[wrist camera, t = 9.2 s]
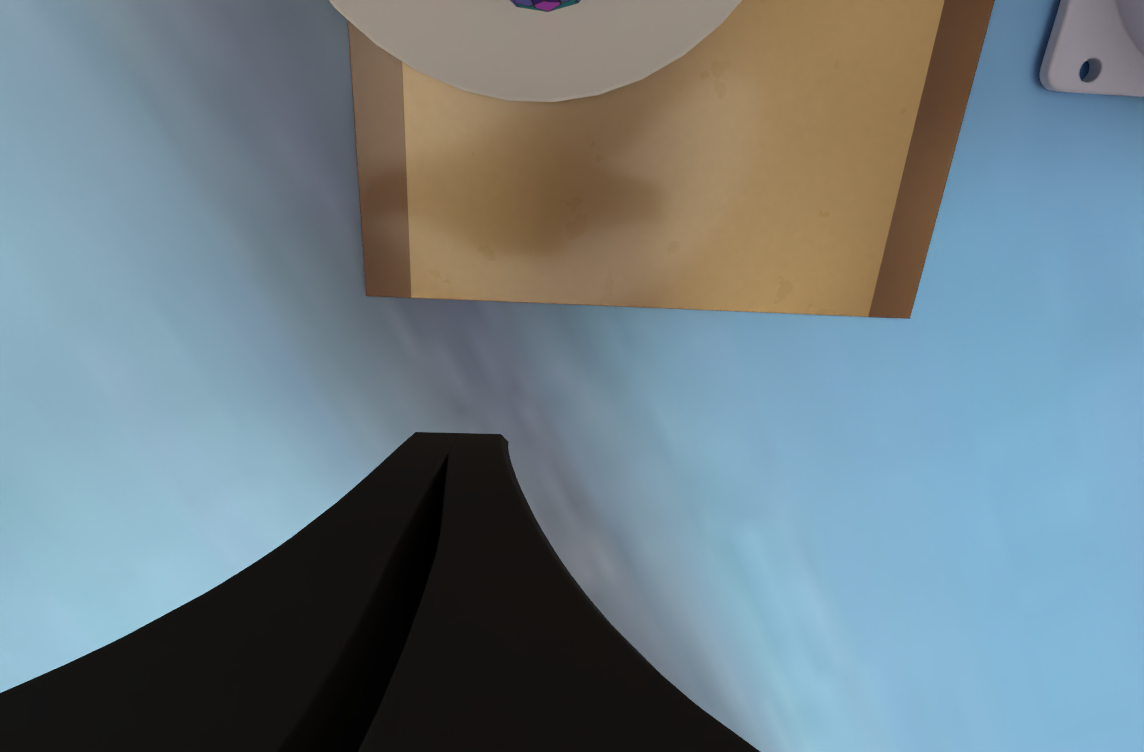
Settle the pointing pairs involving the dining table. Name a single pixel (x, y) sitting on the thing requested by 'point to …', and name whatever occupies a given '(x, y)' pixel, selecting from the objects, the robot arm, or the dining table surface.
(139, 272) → the dining table surface
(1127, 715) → the dining table surface
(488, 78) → the pudding
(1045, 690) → the dining table surface
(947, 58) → the placemat
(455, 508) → the robot arm
